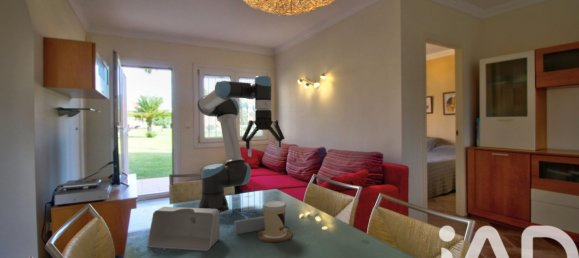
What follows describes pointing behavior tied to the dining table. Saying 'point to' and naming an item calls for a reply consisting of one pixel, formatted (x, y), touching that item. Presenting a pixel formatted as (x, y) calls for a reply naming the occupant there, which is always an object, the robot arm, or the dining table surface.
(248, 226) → the grey wall
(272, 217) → the coffee cup
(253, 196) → the dining table surface
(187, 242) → the white open storage bin
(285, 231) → the walnut mat
